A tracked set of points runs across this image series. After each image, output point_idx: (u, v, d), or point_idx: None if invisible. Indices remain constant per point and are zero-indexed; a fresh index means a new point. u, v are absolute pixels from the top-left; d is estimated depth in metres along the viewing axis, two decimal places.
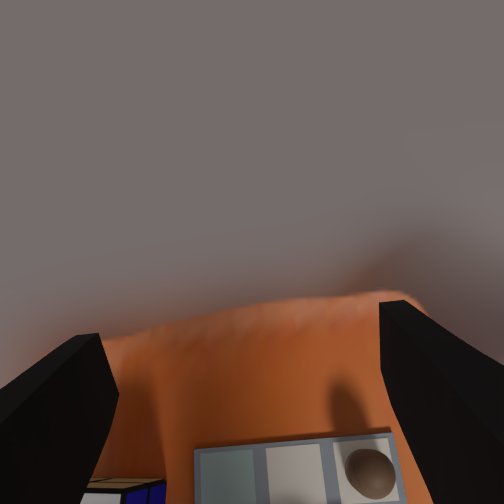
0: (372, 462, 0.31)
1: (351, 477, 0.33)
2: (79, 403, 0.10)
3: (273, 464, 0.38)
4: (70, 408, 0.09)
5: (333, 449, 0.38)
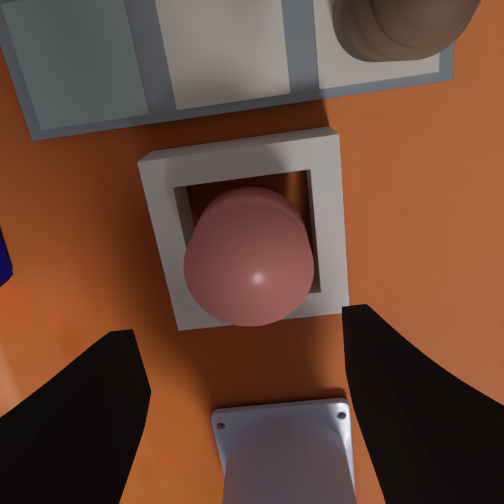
0: None
1: (360, 9, 0.12)
2: (117, 399, 0.10)
3: (173, 16, 0.17)
4: (110, 404, 0.09)
5: None
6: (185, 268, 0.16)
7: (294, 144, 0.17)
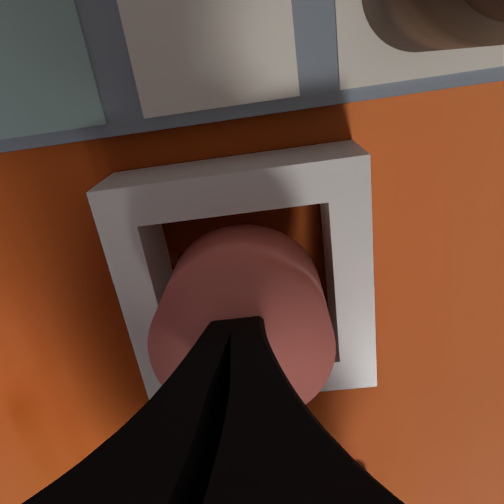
0: None
1: None
2: None
3: None
4: None
5: None
6: (150, 349, 0.11)
7: (306, 168, 0.12)
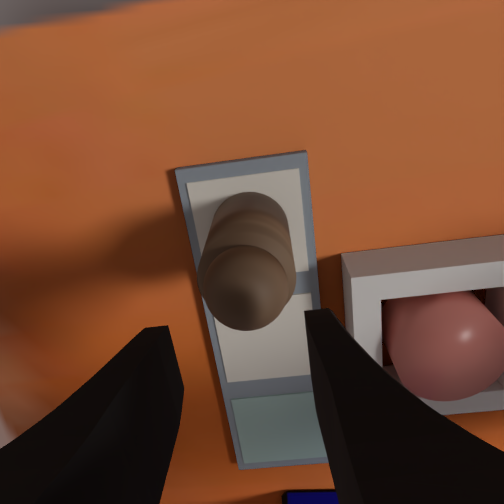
0: (218, 310, 0.13)
1: None
2: (157, 396, 0.09)
3: (251, 371, 0.22)
4: (151, 400, 0.09)
5: None
6: (441, 399, 0.19)
7: (356, 312, 0.18)
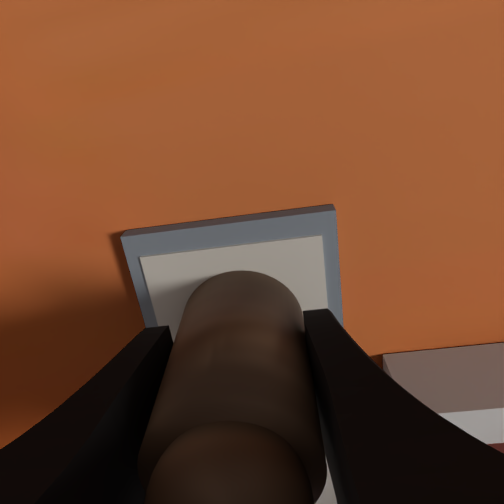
0: None
1: None
2: None
3: None
4: (152, 400, 0.09)
5: None
6: None
7: None
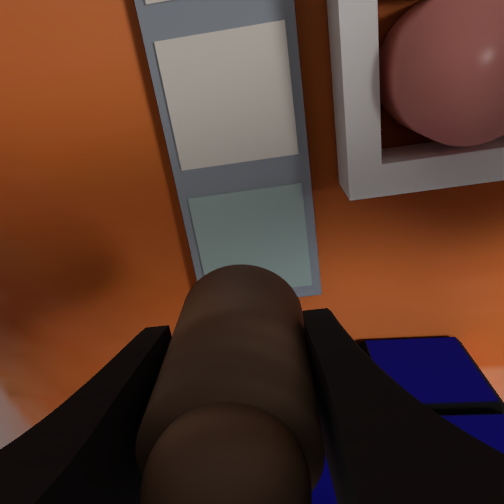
0: None
1: None
2: None
3: (211, 151, 0.17)
4: None
5: (162, 2, 0.15)
6: (460, 144, 0.14)
7: (343, 9, 0.13)
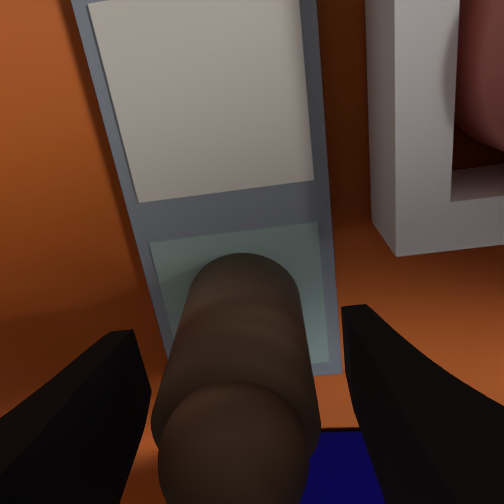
0: None
1: None
2: (118, 399, 0.10)
3: (183, 175, 0.11)
4: (110, 404, 0.09)
5: None
6: None
7: None
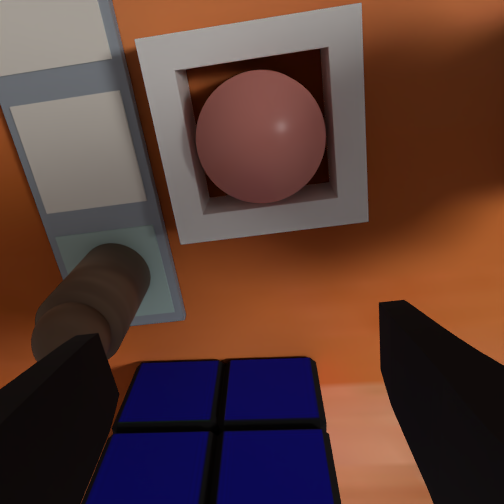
0: None
1: None
2: (79, 403, 0.10)
3: (71, 198, 0.20)
4: (70, 408, 0.09)
5: (12, 74, 0.18)
6: (258, 201, 0.17)
7: (149, 89, 0.16)
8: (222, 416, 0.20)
